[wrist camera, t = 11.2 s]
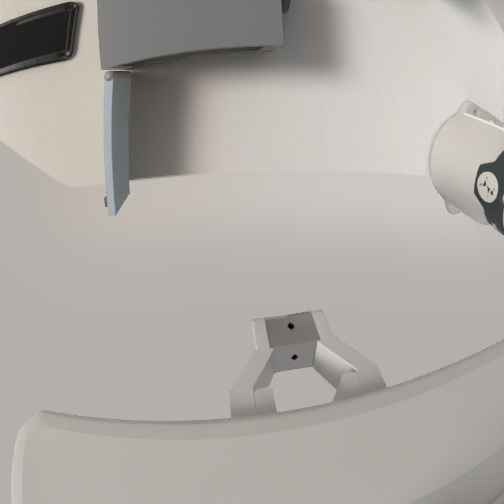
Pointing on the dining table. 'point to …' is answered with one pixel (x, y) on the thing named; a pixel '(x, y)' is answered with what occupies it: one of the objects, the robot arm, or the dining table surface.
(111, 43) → the box
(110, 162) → the side door
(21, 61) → the phone
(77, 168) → the dining table surface
